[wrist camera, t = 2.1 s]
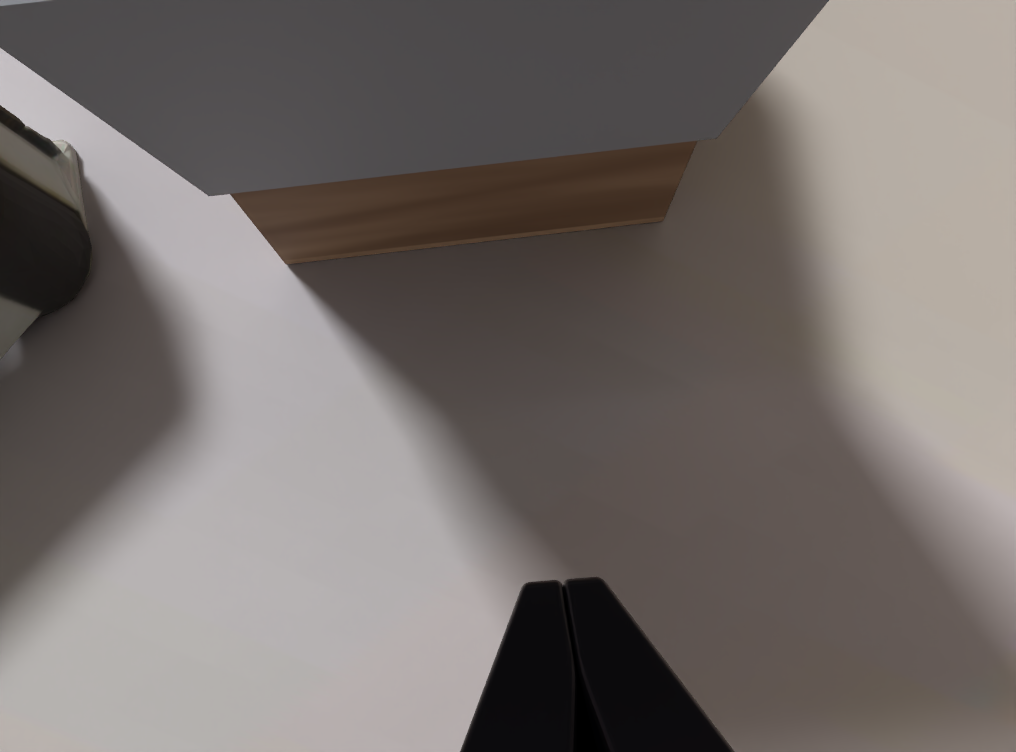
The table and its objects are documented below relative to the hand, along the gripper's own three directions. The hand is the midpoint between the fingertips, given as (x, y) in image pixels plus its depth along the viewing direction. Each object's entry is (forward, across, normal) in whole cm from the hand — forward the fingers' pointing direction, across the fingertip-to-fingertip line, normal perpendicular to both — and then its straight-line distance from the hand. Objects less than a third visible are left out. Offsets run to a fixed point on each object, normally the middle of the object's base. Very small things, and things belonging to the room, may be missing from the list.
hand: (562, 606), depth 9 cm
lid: (+7, +1, -4) cm, 8 cm away
